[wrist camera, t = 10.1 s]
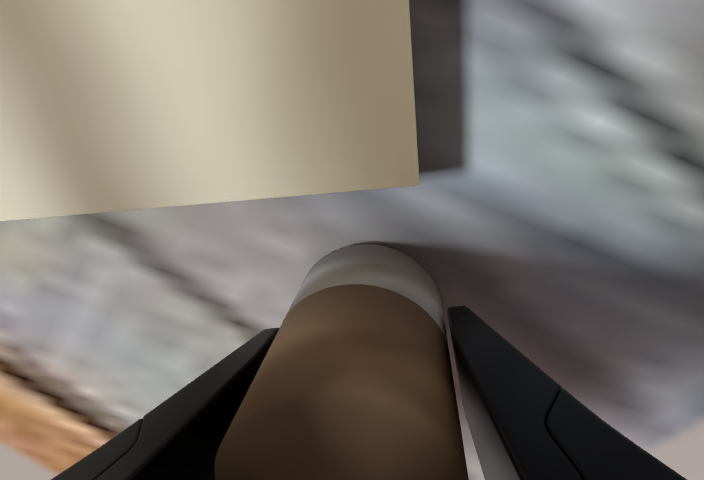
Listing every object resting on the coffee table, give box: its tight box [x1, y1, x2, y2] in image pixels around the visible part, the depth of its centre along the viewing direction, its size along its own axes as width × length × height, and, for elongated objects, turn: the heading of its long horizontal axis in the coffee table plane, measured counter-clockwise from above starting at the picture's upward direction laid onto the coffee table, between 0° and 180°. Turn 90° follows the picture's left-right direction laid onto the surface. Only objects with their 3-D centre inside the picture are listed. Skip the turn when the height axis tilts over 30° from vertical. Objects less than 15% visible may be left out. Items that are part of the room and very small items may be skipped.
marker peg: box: [214, 244, 469, 480], centre depth 8 cm, size 4×4×5 cm
